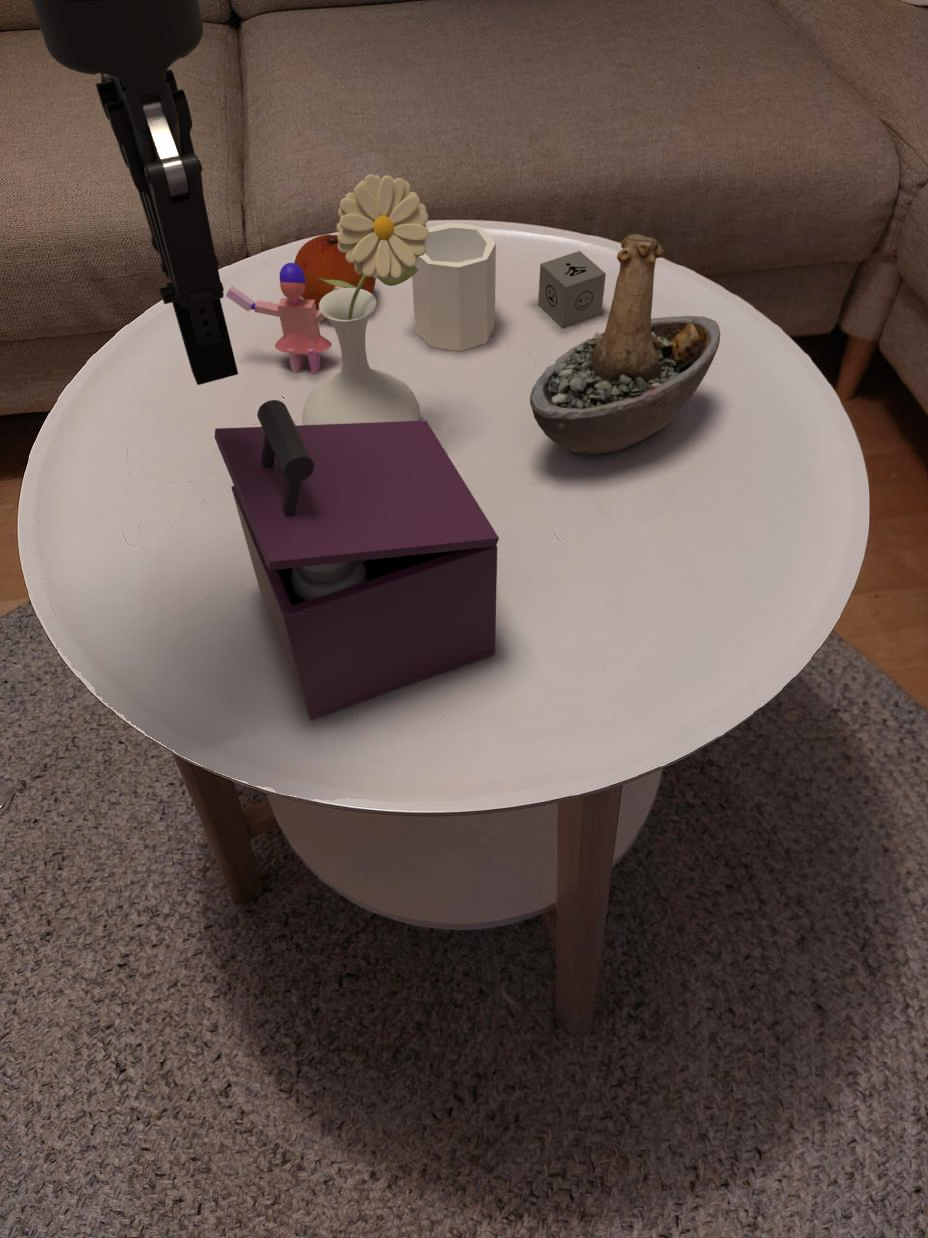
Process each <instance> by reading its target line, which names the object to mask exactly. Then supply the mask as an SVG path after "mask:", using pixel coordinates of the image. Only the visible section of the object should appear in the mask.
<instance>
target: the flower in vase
mask: <svg viewBox="0 0 928 1238" xmlns="http://www.w3.org/2000/svg"><path fill="white" fill-rule="evenodd" d="M411 188H412V187H411V183H410V182H409V181H407V180H405V179H404V178H401V177H397V178H395V179H394V177H393V176H391V175H388V174H386V175H383V176H382V178H381V177H380V176H379V175H378V174H376V175H375V174H372V173H370V174H369V173H368V174H367V175H366V176H365V178H364V180H363V179H362V180H360V181H359V182H358V183H357V185H356V186H355V187H354V189H353V192H347V193H346V194H345V197H343V198H342V199H341V200H340V202H339V208H338V211H337V215H338V217H339V222H338V223H337V224H336V231H337V232H338V234H337V235H338V241H339V243H338V249H339V251H340V252H342V253H346V260H347V261H348V262H349V263H355V266H354V269H355V272H356V273H357V274H360V275H361V274H363V276H362V278H361V280H360V282H359V284H358V286H357V287H355V286H353V285H351V284H349V283H347V282H344V281H339V280H323V279H321V278H319V277H318V276H317V278H318V279H319V280H321V281H325V282H326V283H329V284H331V285H334V286H339V287H346V288H341V289H337V290H334V291H332V292H330V293H328V294H326V295H325V296H324V297H323V298H322V299H321V301H320V303H319V309H320V311H321V313H322V314H323V315H324V316H325V317H326V318H325V319H327V320H328V321H329V322H330V323H331V325H332V326H333V328H334V331H335V333H336V336H337V339H338V343H339V347H340V353H341V363H342V364H341V370H340V371H339V372H337V373H335V374H333V375H331V376H329V377H327V378H325V379H324V380H323V381H322V382H321V383H319V384H318V385H317V386H316V387H315V388H313V390H312V391H311V392H310V393H309V395H308V396H307V398H306V400H305V402H304V405H303V409H302V413H301V421H302V422H301V423H302V425H322V424H349V423H375V422H401V421H419V419H420V413H421V410H420V404H419V401H418V399H417V397H416V395H415V393H414V392H413V390H412V389H411V388H410V387H409V385H408V384H407V383H405V382H404V381H403V380H401V379H399V378H397V377H396V376H394V375H392V374H390V373H387V372H385V371H382V370H379V369H375V368H371V367H370V365H369V362H368V358H367V349H366V348H367V347H366V334H367V333H366V332H367V325H368V322H369V319H370V318H371V316H372V314H373V313H374V312H375V311H376V308H377V298H376V296H375V295H374V294H371V293H370V292H368V291H366V290H363V289H361V287H362V285H363V283H364V281H365V279H366V277H371V276H372V277H373V278H376V279H378V280H379V282H381V283H383V284H384V285H386V286H388V287H389V286H390V287H392V286H397V285H400V284H403V283H404V282H406V281H408V280H409V279H410V278H411V279H412V276H413V275H414V274H415V273H416V272H417V271H418V269H417V268H416V267H415V264H416V260H417V259H418V256H422V255H424V253H425V251H426V248H425V246H424V245H425V239H427V238H428V236H429V231H428V228H427V227H428V226H427V223H428V221H429V214H428V213H427V206H426V205H425V204H424V203H421V200H420V199H421V198H419V195H418V193H416V192H415V191H411Z"/></svg>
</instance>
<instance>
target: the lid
mask: <svg viewBox="0 0 928 1238" xmlns="http://www.w3.org/2000/svg"><path fill="white" fill-rule="evenodd" d="M257 419H258V421H259V424H260V426H250V427H249V426H248V427H245V426H244V427H221V428H215V429H214V440H215V442H216V445H217V448H218V449H219V453H220V455H221V457H222V460H223V462H224V464H225V468H226V470H227V472H228V474H229V477H230V480H231V481H232V484H233V486H234V487H235V489H236V492H237V494H238V496H239V499H240V501H241V504H242V506H243V509H244V511H245V514H246V516H247V519H248V521H249V523H250V526H251V528H252V531H253V533H254V536H255V538H256V541H257V543H258V546H259V548H260V550H261V553H262V555H263V558H264V560H265V563H266V565H267V568H268V570H278V569H287V568H297V567H306V566H316V565H325V564H334V563H344V562H353V561H362V560H372V559H381V558H391V557H400V556H409V555H419V554H428V553H438V552H447V551H456V550H466V549H475V548H485V547H494V546H496V545H497V546H498V542H499V540H500V537H499V536H498V534H497V532H496V531H495V529H494V527H493V526H492V524H491V523H490V521H489V520H488V518H487V516H486V515H485V513H484V511H483V510H482V508H481V506H480V505H479V503H478V501H477V500H476V498H475V496H474V495H473V493H472V492H471V490H470V489H469V487H468V486H467V484H466V482H465V480H464V479H463V478H462V477H463V476H461V474H460V472H459V471H458V469H457V468H456V466H455V464H454V463H453V461H452V459H451V458H450V456H449V455H448V453H447V451H446V450H445V448H444V447H443V445H442V444H441V442H440V441H439V439H438V437H437V436H436V434H435V432H434V431H433V429H432V428H431V425H430V424H429V423H428V420H418V421H401V422H375V423H349V424H322V425H303V424H300V425H299V424H298V425H296V423H295V422H294V421H295V420H293V418H292V415H291V414H290V411H289V409H288V408H287V406H286V404H285V403H284V402H282V401H281V400H277V399H271V400H267V401H265V402H264V403H262V404H261V405H260V406H259V408H258V409H257Z"/></svg>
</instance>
